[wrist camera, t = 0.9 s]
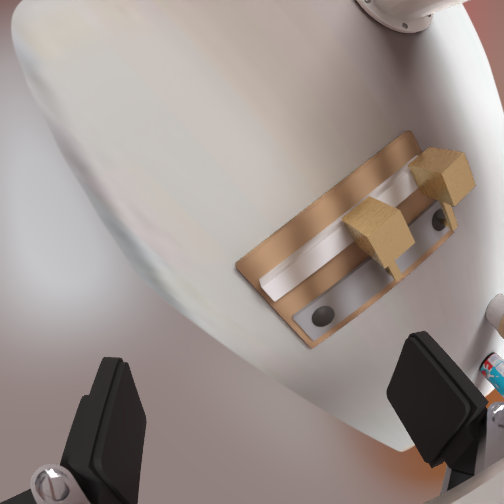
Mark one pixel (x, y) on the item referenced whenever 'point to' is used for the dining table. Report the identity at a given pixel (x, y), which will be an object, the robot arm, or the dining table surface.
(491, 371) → the beverage can
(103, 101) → the dining table surface
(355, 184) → the board
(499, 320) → the coffee cup
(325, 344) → the dining table surface
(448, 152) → the fixed leg
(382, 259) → the block
